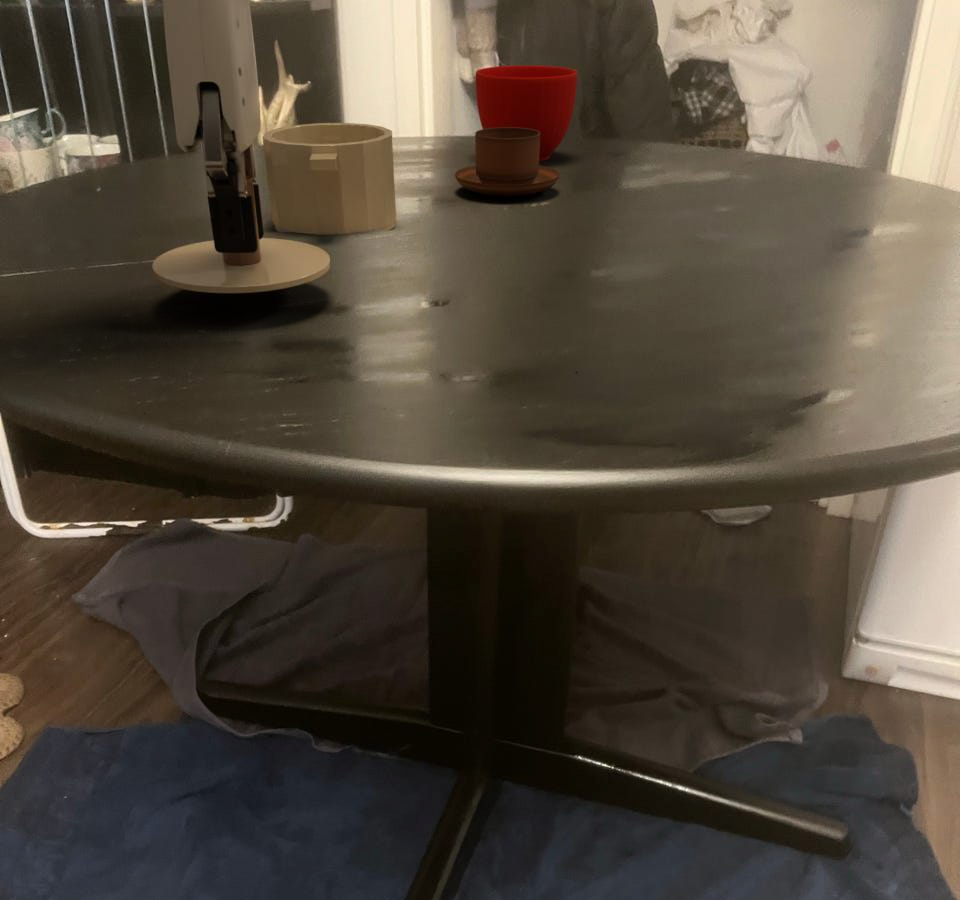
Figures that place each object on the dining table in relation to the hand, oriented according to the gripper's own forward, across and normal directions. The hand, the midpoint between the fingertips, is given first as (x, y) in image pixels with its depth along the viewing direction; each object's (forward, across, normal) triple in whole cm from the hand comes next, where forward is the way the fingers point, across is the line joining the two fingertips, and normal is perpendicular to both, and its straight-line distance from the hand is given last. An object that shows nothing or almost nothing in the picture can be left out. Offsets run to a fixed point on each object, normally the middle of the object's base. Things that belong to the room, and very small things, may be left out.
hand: (240, 242), depth 76 cm
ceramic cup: (+5, -63, +28) cm, 69 cm away
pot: (+5, -27, +6) cm, 28 cm away
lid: (+2, 0, 0) cm, 2 cm away
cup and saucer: (+5, -41, +24) cm, 48 cm away
